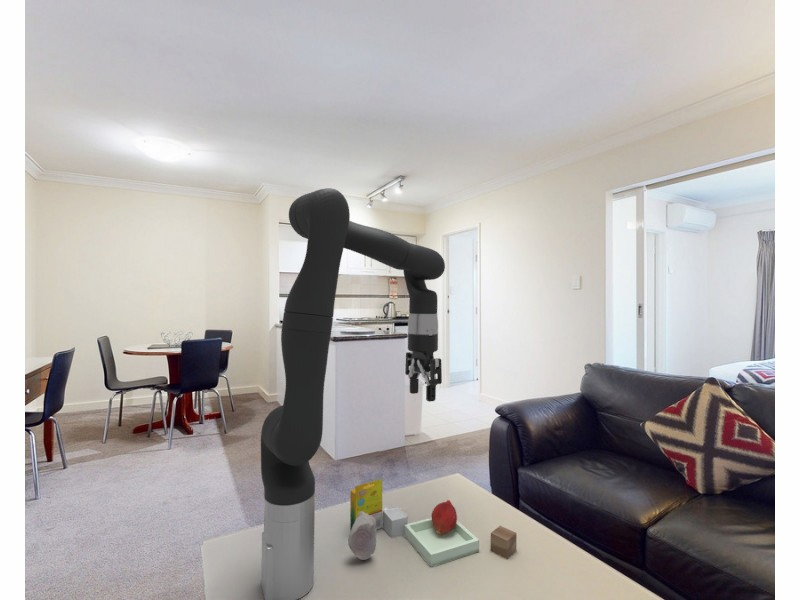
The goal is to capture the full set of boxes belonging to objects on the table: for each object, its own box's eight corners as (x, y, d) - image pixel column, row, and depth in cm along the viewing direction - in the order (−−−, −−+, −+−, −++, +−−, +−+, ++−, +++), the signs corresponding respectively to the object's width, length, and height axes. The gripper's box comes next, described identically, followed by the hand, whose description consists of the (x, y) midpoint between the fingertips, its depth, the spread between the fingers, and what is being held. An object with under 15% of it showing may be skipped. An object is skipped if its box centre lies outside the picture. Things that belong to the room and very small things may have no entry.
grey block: (391, 538, 91) (392, 520, 91) (382, 527, 95) (383, 510, 95) (407, 534, 93) (407, 516, 93) (397, 523, 97) (397, 506, 97)
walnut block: (507, 559, 84) (507, 540, 84) (490, 551, 86) (490, 532, 86) (516, 551, 87) (516, 532, 87) (499, 543, 89) (500, 525, 89)
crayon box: (376, 522, 97) (377, 474, 97) (383, 528, 95) (383, 478, 95) (349, 531, 93) (350, 481, 93) (355, 537, 91) (355, 486, 91)
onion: (452, 543, 90) (462, 510, 96) (449, 531, 87) (460, 497, 93) (428, 534, 93) (439, 502, 98) (425, 522, 89) (437, 489, 95)
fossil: (348, 568, 80) (349, 518, 80) (346, 557, 84) (347, 509, 84) (377, 563, 82) (377, 514, 82) (373, 553, 85) (374, 506, 85)
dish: (431, 567, 81) (431, 554, 81) (404, 535, 92) (404, 524, 92) (479, 551, 86) (479, 540, 86) (448, 523, 97) (448, 513, 97)
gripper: (397, 330, 104) (396, 392, 104) (424, 334, 91) (423, 405, 91) (422, 329, 107) (421, 389, 107) (451, 333, 95) (450, 402, 95)
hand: (422, 397), depth 99 cm, fingers open, 8 cm apart
